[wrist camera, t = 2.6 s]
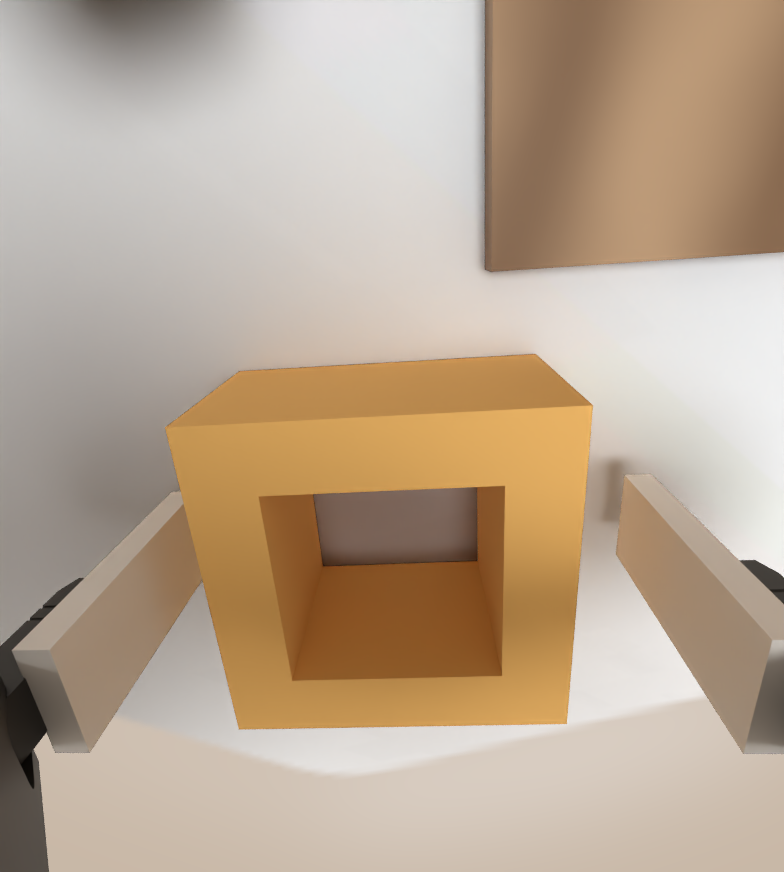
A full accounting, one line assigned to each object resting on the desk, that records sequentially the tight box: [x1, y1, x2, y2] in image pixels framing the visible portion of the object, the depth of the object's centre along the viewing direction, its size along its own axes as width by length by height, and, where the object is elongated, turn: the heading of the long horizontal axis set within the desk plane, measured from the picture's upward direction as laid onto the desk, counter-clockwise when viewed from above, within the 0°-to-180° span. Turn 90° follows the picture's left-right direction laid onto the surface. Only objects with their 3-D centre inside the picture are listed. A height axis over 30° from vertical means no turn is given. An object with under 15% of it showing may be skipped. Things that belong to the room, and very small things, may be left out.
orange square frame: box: [165, 354, 593, 729], centre depth 14 cm, size 9×9×5 cm
